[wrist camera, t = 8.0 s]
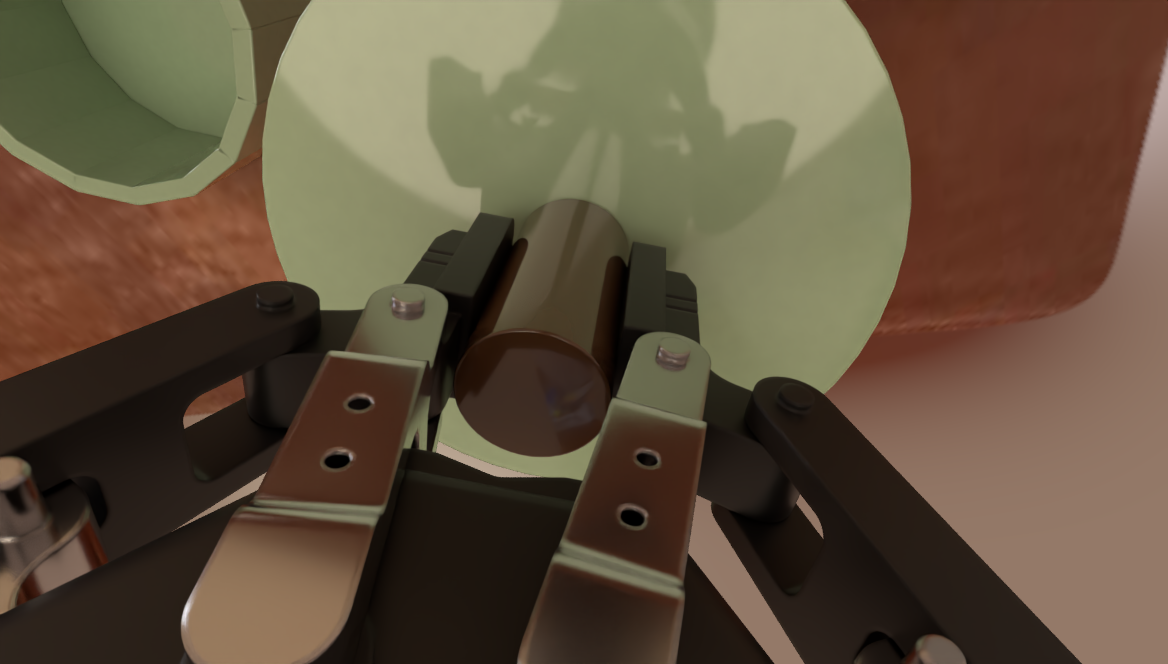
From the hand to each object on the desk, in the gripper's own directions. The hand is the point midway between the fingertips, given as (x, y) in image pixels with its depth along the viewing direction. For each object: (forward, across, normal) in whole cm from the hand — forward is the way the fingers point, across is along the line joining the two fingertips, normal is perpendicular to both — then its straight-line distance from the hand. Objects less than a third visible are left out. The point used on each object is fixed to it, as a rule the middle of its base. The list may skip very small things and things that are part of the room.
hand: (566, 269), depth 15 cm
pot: (+19, +20, 0) cm, 28 cm away
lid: (+2, 0, 0) cm, 2 cm away
